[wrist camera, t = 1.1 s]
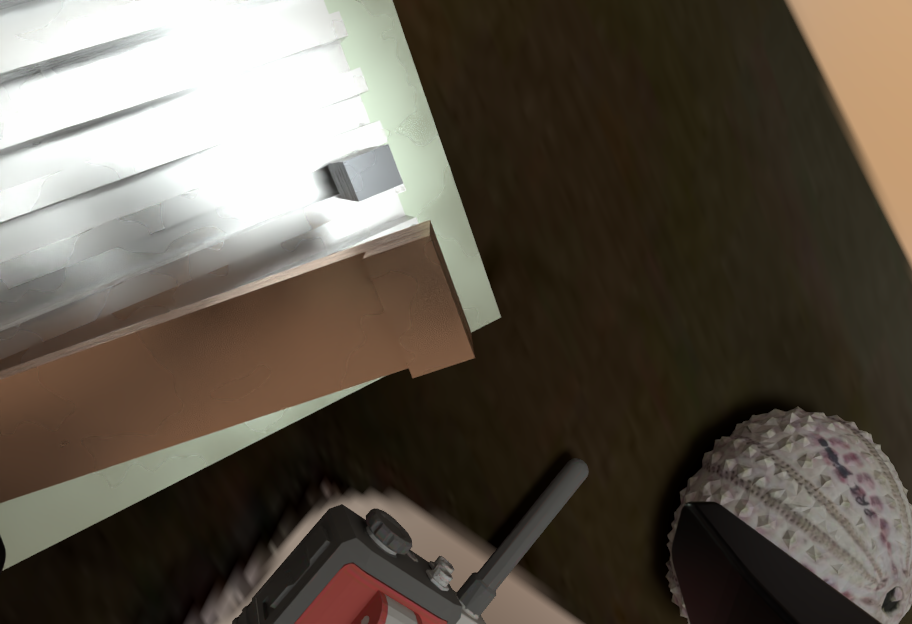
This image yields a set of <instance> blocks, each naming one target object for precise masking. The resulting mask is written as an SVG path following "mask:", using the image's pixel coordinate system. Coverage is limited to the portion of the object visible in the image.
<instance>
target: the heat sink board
mask: <svg viewBox="0 0 912 624" xmlns="http://www.w3.org/2000/svg"><path fill="white" fill-rule="evenodd" d="M428 220H430V221H431V224H432V226H433V229H434V232H435V234H436V237H437V240H438V243H439V245H440V248H441V251H442V254H443V256H444V259H445V262H446V264H447V267H448V270H449V273H450V275H451V278H452V281H453V284H454V286H455V289H456V292H457V294H458V297H459V300H460V303H461V305H462V308H463V311H464V314H465V316H466V319H467V322H468V325H469V327H470V330H471V332H473V331H475V330H477V329H479V328H481V327H483V326H485V325H487V324H489V323H491V322H493V321H495V320H497V319H498V318H500V317H501V316H500V313H499V310H498V307H497V304H496V301H495V298H494V295H493V292H492V290H491V287H490V284H489V281H488V278H487V275H486V272H485V269H484V266H483V263H482V260H481V257H480V255H479V252H478V249H477V246H476V243H475V240H474V237H473V234H472V231H471V228H470V225H469V223H468V220H467V217H466V214H465V211H464V208H463V205H462V202H461V199H460V196H459V193H458V190H457V188H456V185H455V182H454V179H453V176H452V173H451V170H450V167H449V164H448V161H447V158H446V156H445V153H444V150H443V147H442V144H441V141H440V138H439V135H438V132H437V129H436V126H435V123H434V121H433V118H432V115H431V112H430V109H429V106H428V103H427V100H426V97H425V94H424V91H423V89H422V86H421V83H420V80H419V77H418V74H417V71H416V68H415V65H414V62H413V59H412V56H411V54H410V51H409V48H408V45H407V42H406V39H405V36H404V33H403V30H402V27H401V24H400V21H399V19H398V16H397V13H396V10H395V7H394V4H393V1H392V0H0V371H2V370H5V369H8V368H10V367H13V366H16V365H19V364H22V363H25V362H27V361H30V360H33V359H36V358H39V357H42V356H44V355H47V354H50V353H53V352H56V351H59V350H62V349H64V348H67V347H70V346H73V345H76V344H79V343H81V342H84V341H87V340H90V339H93V338H96V337H98V336H101V335H104V334H107V333H110V332H113V331H115V330H118V329H121V328H124V327H127V326H130V325H132V324H135V323H138V322H141V321H144V320H147V319H150V318H152V317H155V316H158V315H161V314H164V313H167V312H169V311H172V310H175V309H178V308H181V307H184V306H186V305H189V304H192V303H195V302H198V301H201V300H203V299H206V298H209V297H212V296H215V295H218V294H221V293H223V292H226V291H229V290H232V289H235V288H238V287H240V286H243V285H246V284H249V283H252V282H255V281H257V280H260V279H263V278H266V277H269V276H272V275H274V274H277V273H280V272H283V271H286V270H289V269H291V268H294V267H297V266H300V265H303V264H306V263H309V262H311V261H314V260H317V259H320V258H323V257H326V256H328V255H331V254H334V253H337V252H340V251H343V250H345V249H348V248H351V247H354V246H357V245H360V244H362V243H365V242H368V241H371V240H374V239H377V238H379V237H382V236H385V235H388V234H391V233H394V232H397V231H399V230H402V229H405V228H408V227H411V226H414V225H416V224H419V223H422V222H425V221H428ZM383 377H384V376H383ZM380 378H382V377H380ZM380 378H377V379H374V380H371V381H368V382H365V383H362V384H359V385H356V386H353V387H350V388H347V389H344V390H341V391H338V392H335V393H332V394H329V395H326V396H323V397H320V398H317V399H314V400H311V401H308V402H305V403H302V404H299V405H296V406H293V407H289V408H286V409H283V410H280V411H277V412H274V413H271V414H268V415H265V416H262V417H259V418H256V419H253V420H250V421H247V422H244V423H241V424H238V425H235V426H232V427H229V428H226V429H223V430H220V431H217V432H214V433H211V434H208V435H205V436H202V437H199V438H196V439H193V440H190V441H187V442H184V443H181V444H178V445H175V446H172V447H169V448H166V449H162V450H159V451H156V452H153V453H150V454H147V455H144V456H141V457H138V458H135V459H132V460H129V461H126V462H123V463H120V464H117V465H114V466H111V467H108V468H105V469H102V470H99V471H96V472H93V473H90V474H87V475H84V476H81V477H78V478H75V479H72V480H69V481H66V482H63V483H60V484H57V485H54V486H51V487H48V488H45V489H42V490H39V491H35V492H32V493H29V494H26V495H23V496H20V497H17V498H14V499H11V500H8V501H5V502H2V503H0V535H1V538H2V540H3V543H4V546H5V549H6V559H5V564H4V567H3V570H5V569H7V568H9V567H11V566H13V565H15V564H16V563H18V562H20V561H22V560H24V559H26V558H28V557H30V556H32V555H34V554H36V553H38V552H40V551H42V550H44V549H46V548H48V547H50V546H52V545H54V544H56V543H58V542H60V541H62V540H64V539H66V538H68V537H70V536H72V535H74V534H76V533H77V532H79V531H81V530H83V529H85V528H87V527H89V526H91V525H93V524H95V523H97V522H99V521H101V520H103V519H105V518H107V517H109V516H111V515H113V514H115V513H117V512H119V511H121V510H123V509H125V508H127V507H129V506H131V505H133V504H135V503H136V502H138V501H140V500H142V499H144V498H146V497H148V496H150V495H152V494H154V493H156V492H158V491H160V490H162V489H164V488H166V487H168V486H170V485H172V484H174V483H176V482H178V481H180V480H182V479H184V478H186V477H188V476H190V475H192V474H194V473H196V472H197V471H199V470H201V469H203V468H205V467H207V466H209V465H211V464H213V463H215V462H217V461H219V460H221V459H223V458H225V457H227V456H229V455H231V454H233V453H235V452H237V451H239V450H241V449H243V448H245V447H247V446H249V445H251V444H253V443H255V442H257V441H258V440H260V439H262V438H264V437H266V436H268V435H270V434H272V433H274V432H276V431H278V430H280V429H282V428H284V427H286V426H288V425H290V424H292V423H294V422H296V421H298V420H300V419H302V418H304V417H306V416H308V415H310V414H312V413H314V412H316V411H317V410H319V409H321V408H323V407H325V406H327V405H329V404H331V403H333V402H335V401H337V400H339V399H341V398H343V397H345V396H347V395H349V394H351V393H353V392H355V391H357V390H359V389H361V388H363V387H365V386H367V385H369V384H371V383H373V382H375V381H377V380H378V379H380ZM3 570H2V571H3Z"/></svg>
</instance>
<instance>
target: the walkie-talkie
mask: <svg viewBox="0 0 912 624" xmlns="http://www.w3.org/2000/svg"><path fill="white" fill-rule="evenodd" d="M587 476H588V467H587V465H586V463H585V462H584V461H583V460H581V459H578V458H573V459H571V460H569V461H568V462H567V463H566V464H565V466H564V467H563V468H562V469H561V471H560V472H559V473H558V474H557V476H556V477H555V478H554V479H553V480H552V482H551V483H550V484H549V485H548V487H547V488H546V489H545V490H544V492H543V493H542V494H541V495H540V496H539V498H538V499H537V500H536V501H535V503H534V504H533V505H532V506H531V508H530V509H529V510H528V511H527V513H526V514H525V515H524V516H523V517H522V519H521V520H520V521H519V522H518V524H517V525H516V526H515V527H514V529H513V530H512V531H511V532H510V533H509V535H508V536H507V537H506V538H505V540H504V541H503V542H502V543H501V545H500V546H499V547H498V548H497V549H496V551H495V552H494V553H493V554H492V556H491V557H490V558H489V559H488V561H487V562H486V563H485V564H484V566H483V567H482V568H481V569H480V570H479V572H478V573H472V575H471V576H470V577H469V578H468V580H467V581H466V582H465V583H464V585H463V586H462V587H461V588H460V589H459V591H458V592H455V591H454V590H452V588H451V586H450V585H449V582H450V581H451V580H452V576H451V573H452V572H453V570H454V568H453V566H452V565H451V564H450V563H449V562H448V561H447V560H446V559H445V558H444V557H442V556H439V557H438V558H437V560H436V561H435V562H431V561H430V562H427V561H426V560H425V559H423V558H422V557H420V556H419V555H417V554H415V553H414V552H413V551H411V550H410V549H411V547H412V540H411V538H410V536H409V534H408V533H407V532H406V531H405V529H404V528H403V527H402V526H401V525H400V524H399V523H398V522H397V521H396V520H395V519H394V518H392V517H391V516H390V515H389V514H387V513H386V512H384V511H382V510H379V509H372V510H371V511H370V512H369V513H368V514H367V515H366V520H365V519H363V518H362V517H360V516H359V515H357V514H356V513H355V512H353V511H352V510H350V509H349V508H347V507H346V506H344V505H343V504H341V505H338V506H336V507H333V508H330V509H328V511H327V512H326V513H325V514H324V515H323V516H322V518H321V519H320V520H319V521H318V522H317V523H316V525H315V526H314V527H313V528H312V529H311V530H310V531H309V533H308V534H307V535H306V536H305V537H304V538H303V540H302V541H301V542H300V543H299V544H298V545H297V547H296V548H295V549H294V550H293V551H292V552H291V554H290V555H289V556H288V557H287V558H286V559H285V561H284V562H283V563H282V564H281V565H280V566H279V568H278V569H277V570H276V571H275V572H274V573H273V575H272V576H271V577H270V578H269V579H268V580H267V581H266V583H265V584H264V585H263V586H262V587H261V588H260V590H259V591H258V592H257V593H256V594H255V595H254V597H253V598H252V601H251V602H250V603H249V605H248V606H245V607H244V608H243V609H242V613H241V614H240V615H239V616H238V617H236V618H235V619H234V620H233V621H232V624H486V623H485V622H484V620H483V618H482V617H481V614H482V612H483V611H484V610H485V609H486V607H487V606H488V605H489V603H490V602H491V601H492V600H493V598H494V597H495V596H496V589H497V588H498V587H499V586H500V584H501V583H502V582H503V581H504V579H505V578H506V577H507V576H508V574H509V573H510V572H511V571H512V569H513V568H514V567H515V566H516V564H517V563H518V562H519V561H520V560H521V558H522V557H523V556H524V555H525V553H526V552H527V551H528V550H529V548H530V547H531V546H532V545H533V543H534V542H535V541H536V540H537V538H538V537H539V536H540V535H541V533H542V532H543V531H544V530H545V528H546V527H547V526H548V525H549V523H550V522H551V521H552V520H553V518H554V517H555V516H556V515H557V513H558V512H559V511H560V510H561V509H562V507H563V506H564V505H565V504H566V502H567V501H568V500H569V499H570V497H571V496H572V495H573V494H574V492H575V491H576V490H577V489H578V487H579V486H580V485H581V484H582V482H583V481H584V480H585V479H586V477H587Z"/></svg>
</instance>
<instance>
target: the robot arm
mask: <svg viewBox="0 0 912 624" xmlns="http://www.w3.org/2000/svg"><path fill="white" fill-rule="evenodd" d="M671 553H672V562H673V566H674V570H675V573H676V577H677V580H678V584H679V587H680V591H681V594H682V597H683V601H684V604H685V608H686V611H687V615H688V618H689V622H690V624H882V623H881V622H879V621H878V620H877V619H875V618H874V617H873V616H871V615H870V614H869V613H867V612H866V611H864V610H863V609H862V608H860V607H859V606H858V605H856V604H855V603H854V602H852V601H851V600H850V599H848V598H847V597H845V596H844V595H843V594H841V593H840V592H839V591H837V590H836V589H835V588H833V587H832V586H831V585H829V584H828V583H826V582H825V581H824V580H822V579H821V578H820V577H818V576H817V575H816V574H814V573H813V572H812V571H810V570H809V569H807V568H806V567H805V566H803V565H802V564H801V563H799V562H798V561H797V560H795V559H794V558H793V557H791V556H790V555H788V554H787V553H786V552H784V551H783V550H782V549H780V548H779V547H778V546H776V545H775V544H774V543H772V542H771V541H769V540H768V539H767V538H765V537H764V536H763V535H761V534H760V533H759V532H757V531H756V530H755V529H753V528H752V527H750V526H749V525H748V524H746V523H745V522H744V521H742V520H741V519H740V518H738V517H737V516H736V515H734V514H733V513H731V512H730V511H729V510H727V509H726V508H725V507H723V506H722V505H720V504H719V503H716V502H712V501H691V502H687V503H686V504H685V505H684V506H683V508H682V510H681V513H680V517H679V521H678V525H677V528H676V532H675V536H674V539H673V543H672V551H671ZM5 559H6V549H5V546H4V543H3V540H2V538H1V535H0V574H1V572H2V570H3V567H4V564H5Z"/></svg>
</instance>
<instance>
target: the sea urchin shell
mask: <svg viewBox="0 0 912 624" xmlns="http://www.w3.org/2000/svg"><path fill="white" fill-rule="evenodd" d="M702 465H703V467H702V468H701V469H700V470H699V471H698V472H697V473H696V474H695V475H694V476H693V477H691V478H689V479H688V483H687V487H686V488H685V489H683V490H682V491H680V500H681V505H680V506H679V507H678V509H677V510H676V512H674V517H675V520H674V521H673V522H672V523H671V525H672V528H673V529H672V530H671V531H670V533H669V534H668V535H667V536H668V538H669V540H670V541H669V542H668V543H667V544H666V545H667V546H668V548H669V550H670V560H669V561H668V562H667V563H666V565H667V567H668V569H669V571H668V573H667V575H666V576H665V577H666V578H667V580H668V581H669V582H670V583H669V587H670V591H671V592H672V593H673V596H672V602H673V603H675V604H676V605H678V606H679V607H680V616H683V617H685V618H688V615H687V611H686V608H685V604H684V601H683V597H682V594H681V591H680V587H679V584H678V580H677V577H676V573H675V570H674V566H673V562H672V553H671V551H672V543H673V539H674V536H675V532H676V528H677V525H678V521H679V517H680V513H681V510H682V508H683V506H684V505H685V504H686V503H687V502H691V501H712V502H716V503H719V504H720V505H722V506H723V507H725V508H726V509H727V510H729V511H730V512H731V513H733V514H734V515H736V516H737V517H738V518H740V519H741V520H742V521H744V522H745V523H746V524H748V525H749V526H750V527H752V528H753V529H755V530H756V531H757V532H759V533H760V534H761V535H763V536H764V537H765V538H767V539H768V540H769V541H771V542H772V543H774V544H775V545H776V546H778V547H779V548H780V549H782V550H783V551H784V552H786V553H787V554H788V555H790V556H791V557H793V558H794V559H795V560H797V561H798V562H799V563H801V564H802V565H803V566H805V567H806V568H807V569H809V570H810V571H812V572H813V573H814V574H816V575H817V576H818V577H820V578H821V579H822V580H824V581H825V582H826V583H828V584H829V585H831V586H832V587H833V588H835V589H836V590H837V591H839V592H840V593H841V594H843V595H844V596H845V597H847V598H848V599H850V600H851V601H852V602H854V603H855V604H856V605H858V606H859V607H860V608H862V609H863V610H864V611H866V612H867V613H869V614H870V615H871V616H873V617H874V618H875V619H877V620H878V621H879V622H881V623H882V624H898V623H899V622H900V620H901V619H902V617H903V616H904V615H905V614H906V612H908V611H909V609H910V606H911V604H912V505H911V504H910V503H908V500H907V497H906V495H907V491H908V490H906V489H905V488H904V487H903V486H902V483H901V481H900V480H899V478H898V474H897V472H896V471H895V468H894V466H893V465H892V463H891V462H890V461H889V458H888V457H887V456H886V455H885V454H884V453H883V452H882V451H881V447H880V445H878V444H875V443H873V441H872V436H871V434H868V432H865V431H861V430H858V428H857V426H856V424H855V423H854V422H848V421H844V420H842V419H841V418H840V417H839V416H838V415H834V416H829V417H826V415H825V414H824V413H821V412H812V413H810V412H805V411H804V410H802V409H801V408H799V407H796V408H795V409H793V410H790V411H788V412H784V411H781V410H778V409H773V410H772V411H771V412H769V413H766V414H760V415H752V416H751V418H750V419H749V421H743V423H740V424H737V425H736V428H735V430H734V431H733V432H732V434H731V435H730V437H721V439H718V440H715V444H714V448H713V450H712V451H710V452H707V453H704V457H703V459H702ZM688 624H690V622H689V618H688Z"/></svg>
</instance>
